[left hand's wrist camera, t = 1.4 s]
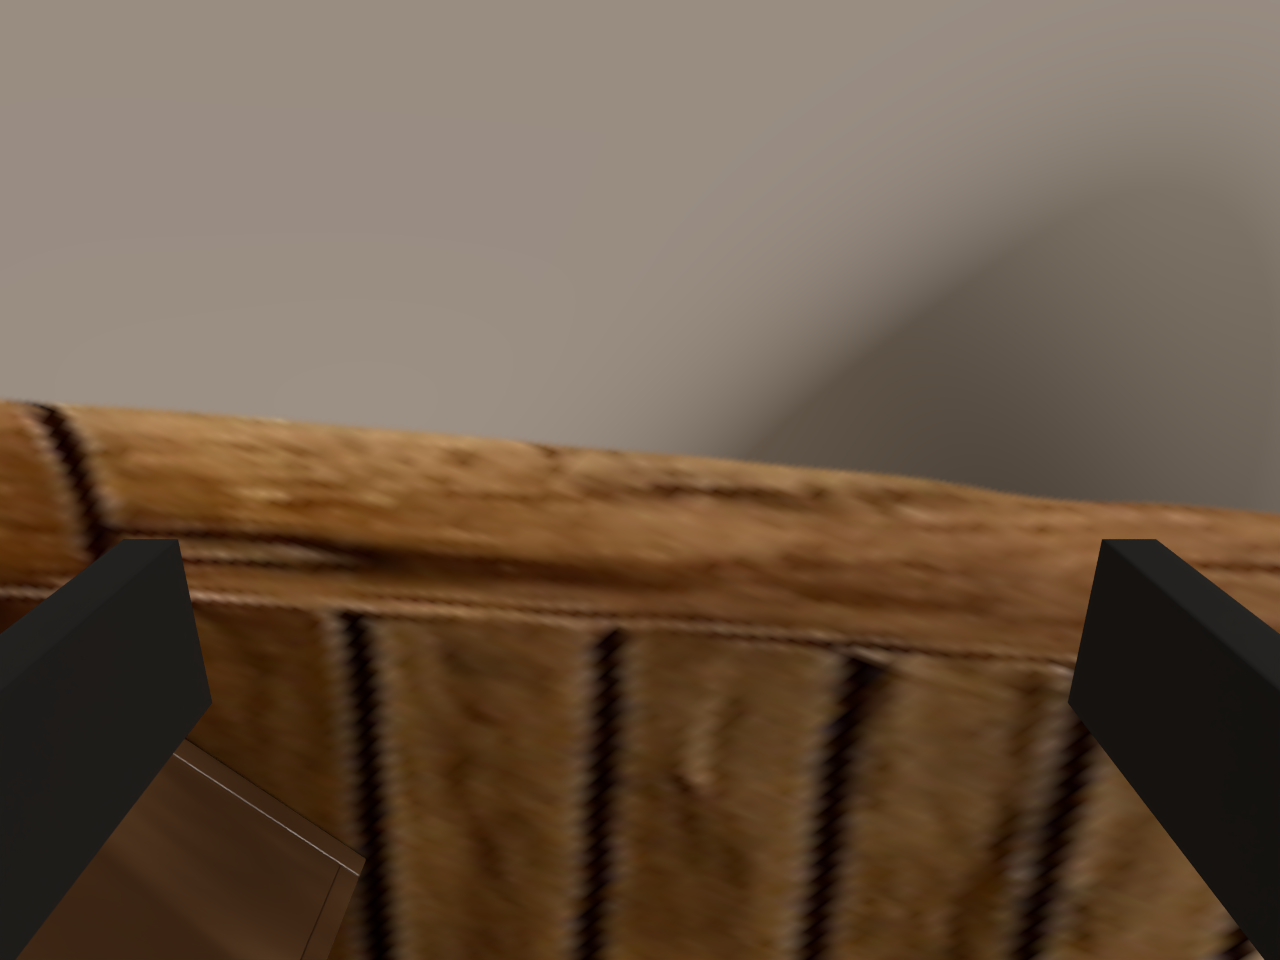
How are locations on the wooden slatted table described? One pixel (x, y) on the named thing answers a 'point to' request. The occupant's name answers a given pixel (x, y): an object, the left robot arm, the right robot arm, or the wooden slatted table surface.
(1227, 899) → the left robot arm
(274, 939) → the chest
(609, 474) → the wooden slatted table surface
